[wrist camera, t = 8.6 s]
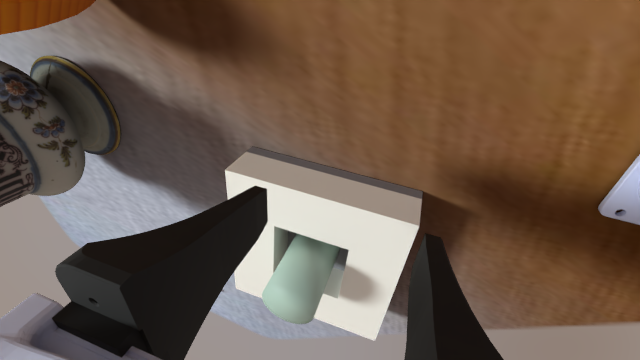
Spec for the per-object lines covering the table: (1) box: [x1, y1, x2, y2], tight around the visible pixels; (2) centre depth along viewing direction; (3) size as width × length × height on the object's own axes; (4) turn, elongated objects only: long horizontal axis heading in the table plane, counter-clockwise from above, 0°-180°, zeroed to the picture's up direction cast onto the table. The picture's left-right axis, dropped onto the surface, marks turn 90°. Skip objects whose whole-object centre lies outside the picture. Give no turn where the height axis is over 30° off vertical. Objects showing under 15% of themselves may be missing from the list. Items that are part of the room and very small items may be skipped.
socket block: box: [225, 146, 423, 341], centre depth 26 cm, size 14×14×4 cm
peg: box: [262, 234, 341, 324], centre depth 24 cm, size 4×4×7 cm
